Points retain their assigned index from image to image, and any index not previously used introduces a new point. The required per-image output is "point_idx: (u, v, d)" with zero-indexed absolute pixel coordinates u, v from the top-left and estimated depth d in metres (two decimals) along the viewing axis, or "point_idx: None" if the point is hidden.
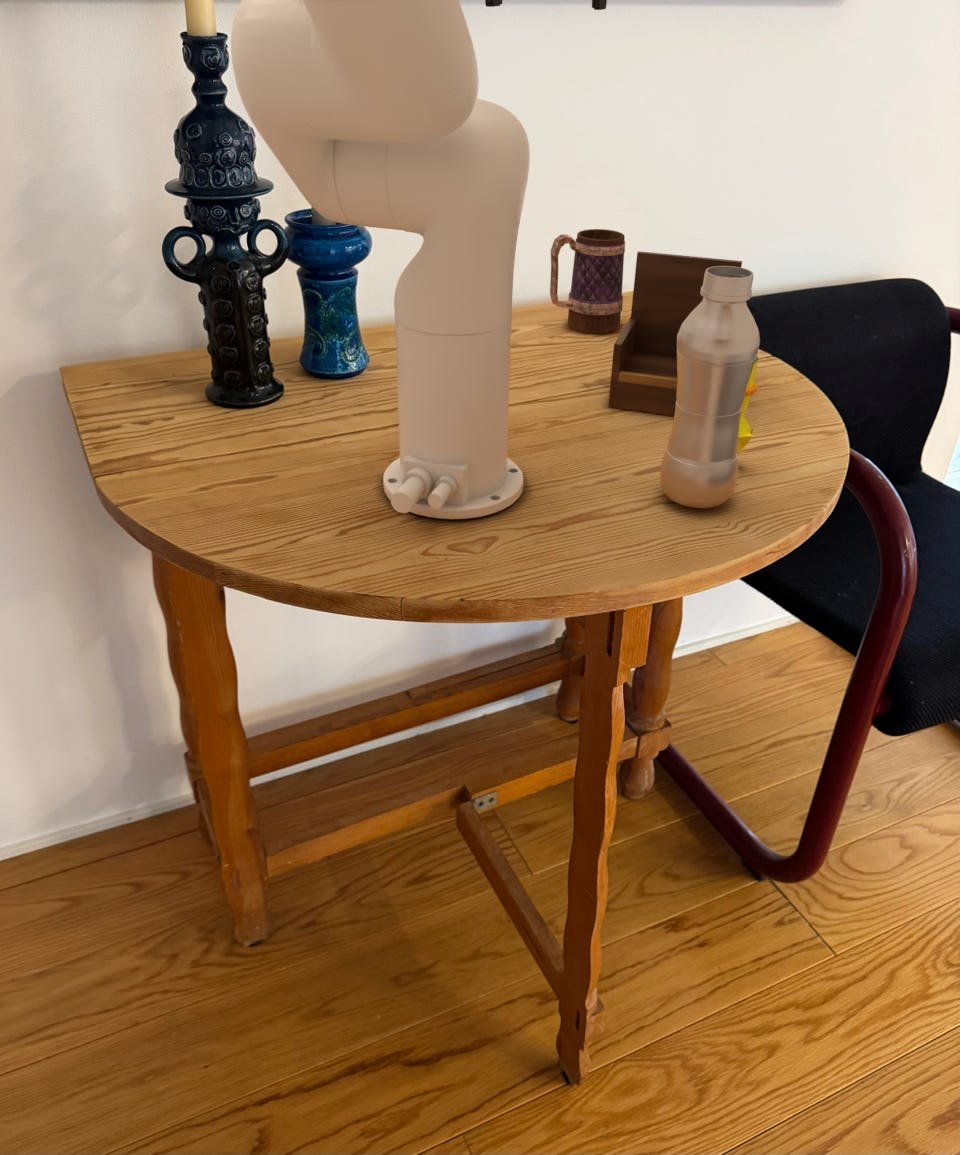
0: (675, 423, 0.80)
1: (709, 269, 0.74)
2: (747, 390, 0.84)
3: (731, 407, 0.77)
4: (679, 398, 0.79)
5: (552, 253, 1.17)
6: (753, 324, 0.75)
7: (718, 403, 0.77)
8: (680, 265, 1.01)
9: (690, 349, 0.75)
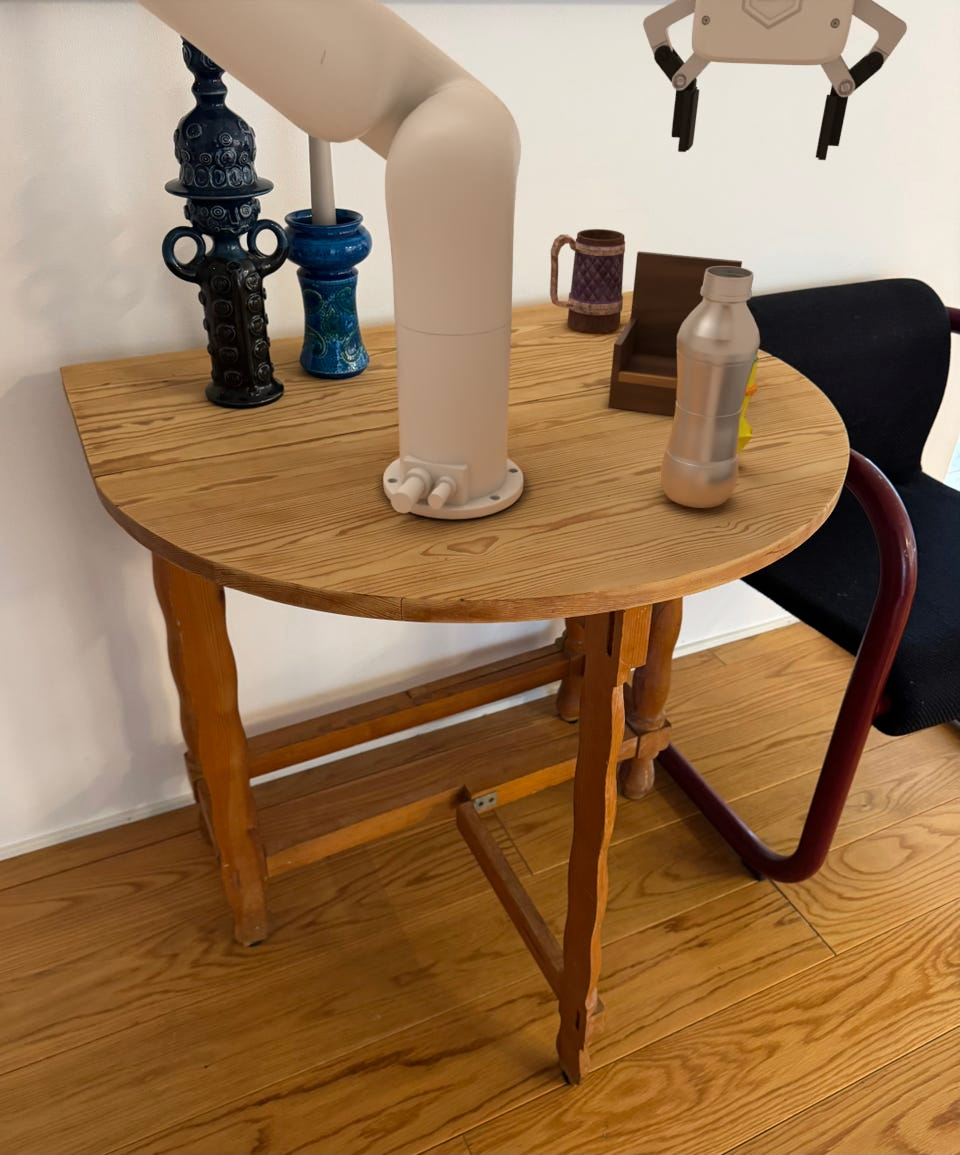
0: (675, 423, 0.80)
1: (709, 269, 0.74)
2: (747, 390, 0.84)
3: (731, 407, 0.77)
4: (679, 398, 0.79)
5: (552, 253, 1.17)
6: (753, 324, 0.75)
7: (718, 403, 0.77)
8: (680, 265, 1.01)
9: (690, 349, 0.75)
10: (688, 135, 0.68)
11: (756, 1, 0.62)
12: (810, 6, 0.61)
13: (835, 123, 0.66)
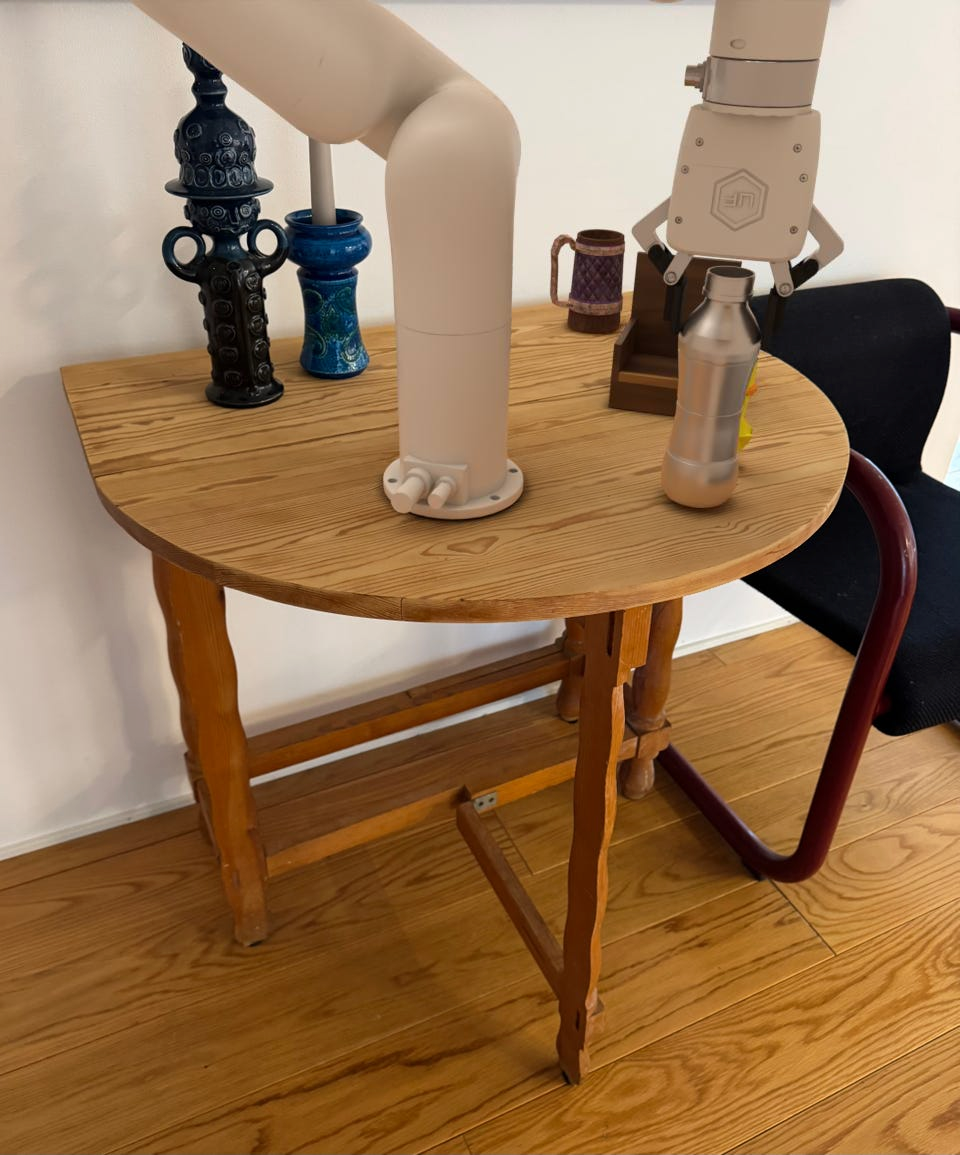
0: (676, 423, 0.80)
1: (711, 269, 0.74)
2: (747, 390, 0.84)
3: (732, 407, 0.77)
4: (680, 398, 0.79)
5: (552, 253, 1.17)
6: (755, 324, 0.75)
7: (719, 403, 0.77)
8: None
9: (692, 349, 0.75)
10: (678, 322, 0.75)
11: (723, 207, 0.69)
12: (771, 215, 0.68)
13: (777, 316, 0.73)
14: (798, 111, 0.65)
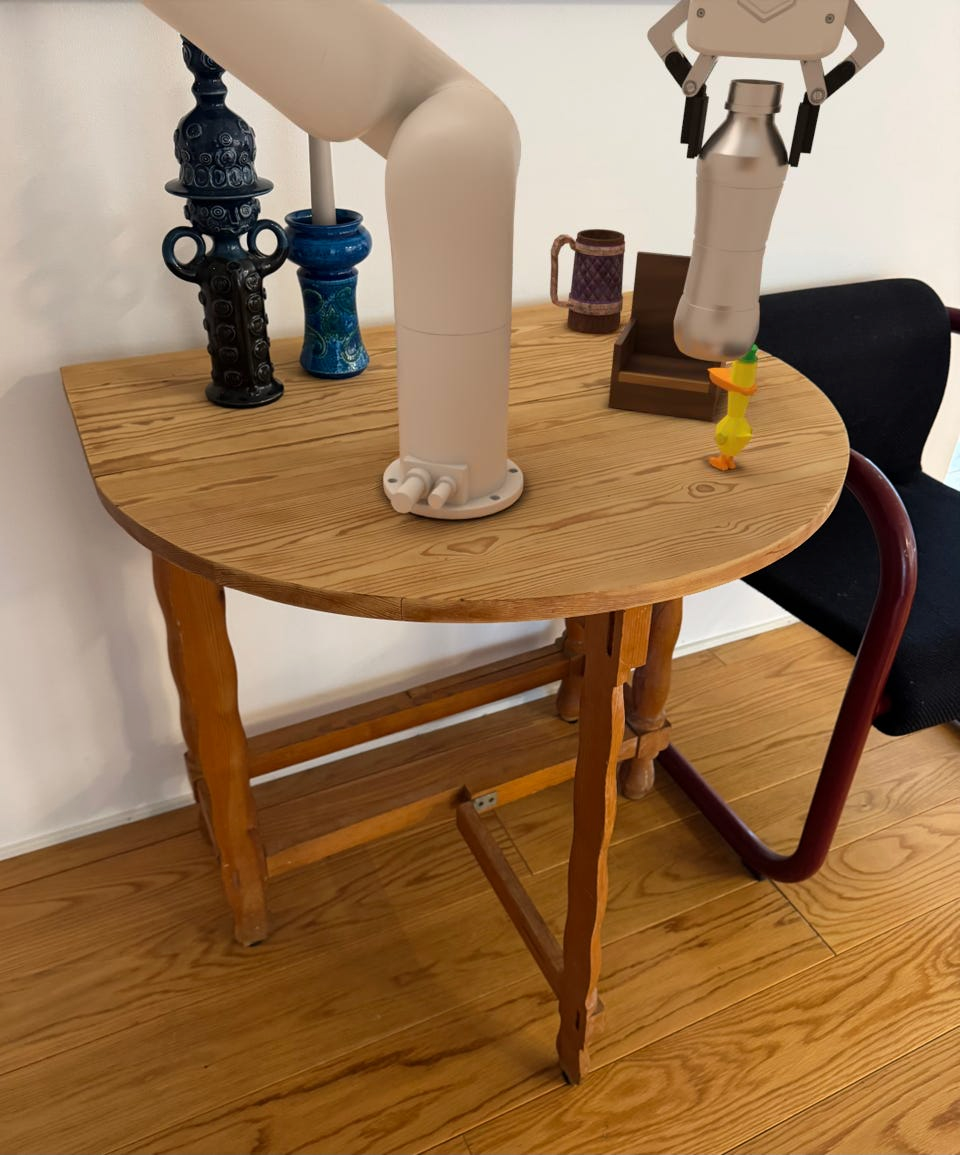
0: (692, 264, 0.73)
1: (734, 81, 0.67)
2: (747, 390, 0.84)
3: (755, 241, 0.70)
4: (697, 233, 0.71)
5: (552, 253, 1.17)
6: (782, 143, 0.67)
7: (741, 235, 0.70)
8: (680, 265, 1.01)
9: (712, 171, 0.68)
10: (697, 142, 0.68)
11: None
12: (805, 1, 0.61)
13: (807, 131, 0.66)
14: None
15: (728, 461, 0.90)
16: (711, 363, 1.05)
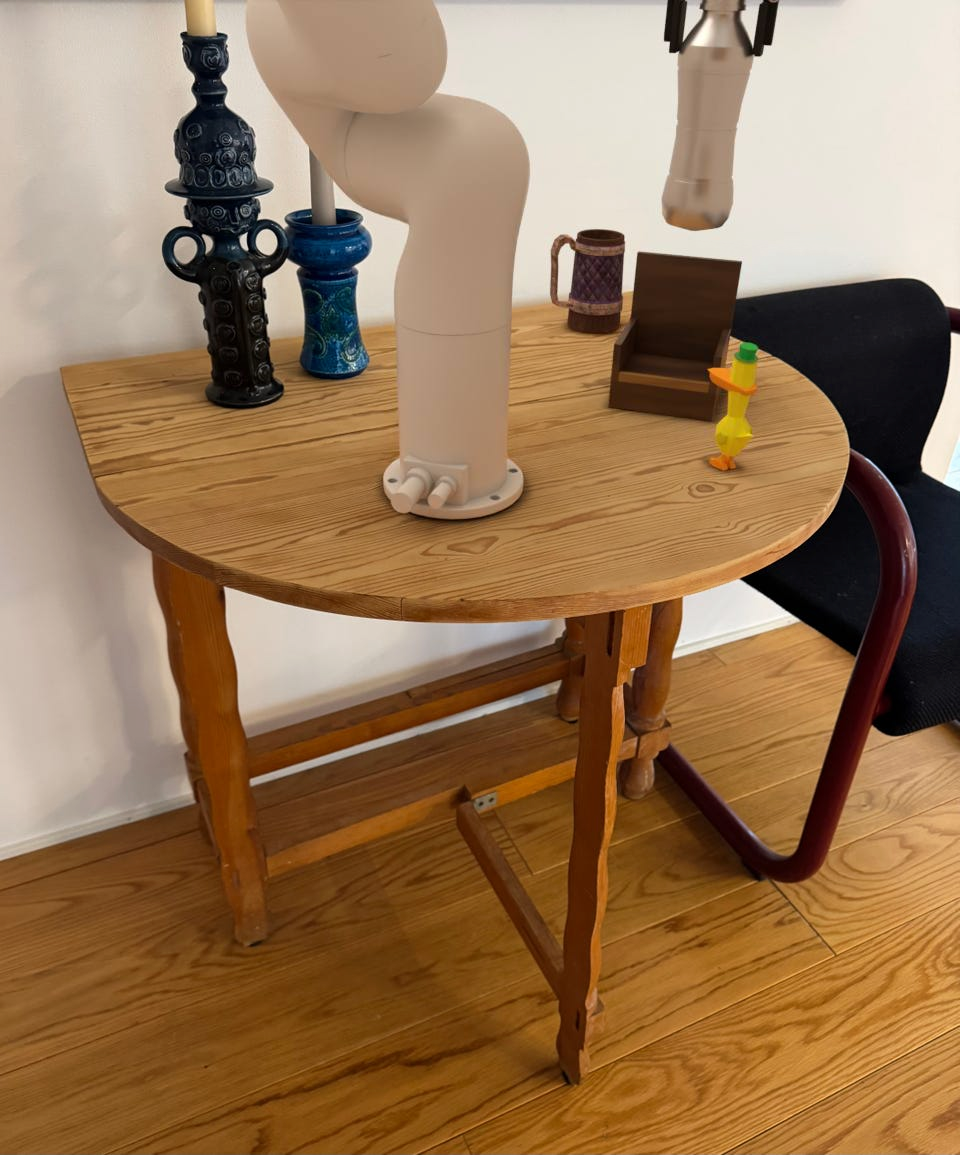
0: (675, 145, 0.87)
1: None
2: (747, 390, 0.84)
3: (727, 121, 0.84)
4: (679, 117, 0.86)
5: (552, 253, 1.17)
6: (747, 37, 0.82)
7: (715, 116, 0.84)
8: (680, 265, 1.01)
9: (690, 61, 0.82)
10: (677, 38, 0.83)
11: None
12: None
13: (768, 25, 0.81)
14: None
15: (728, 461, 0.90)
16: (711, 363, 1.05)
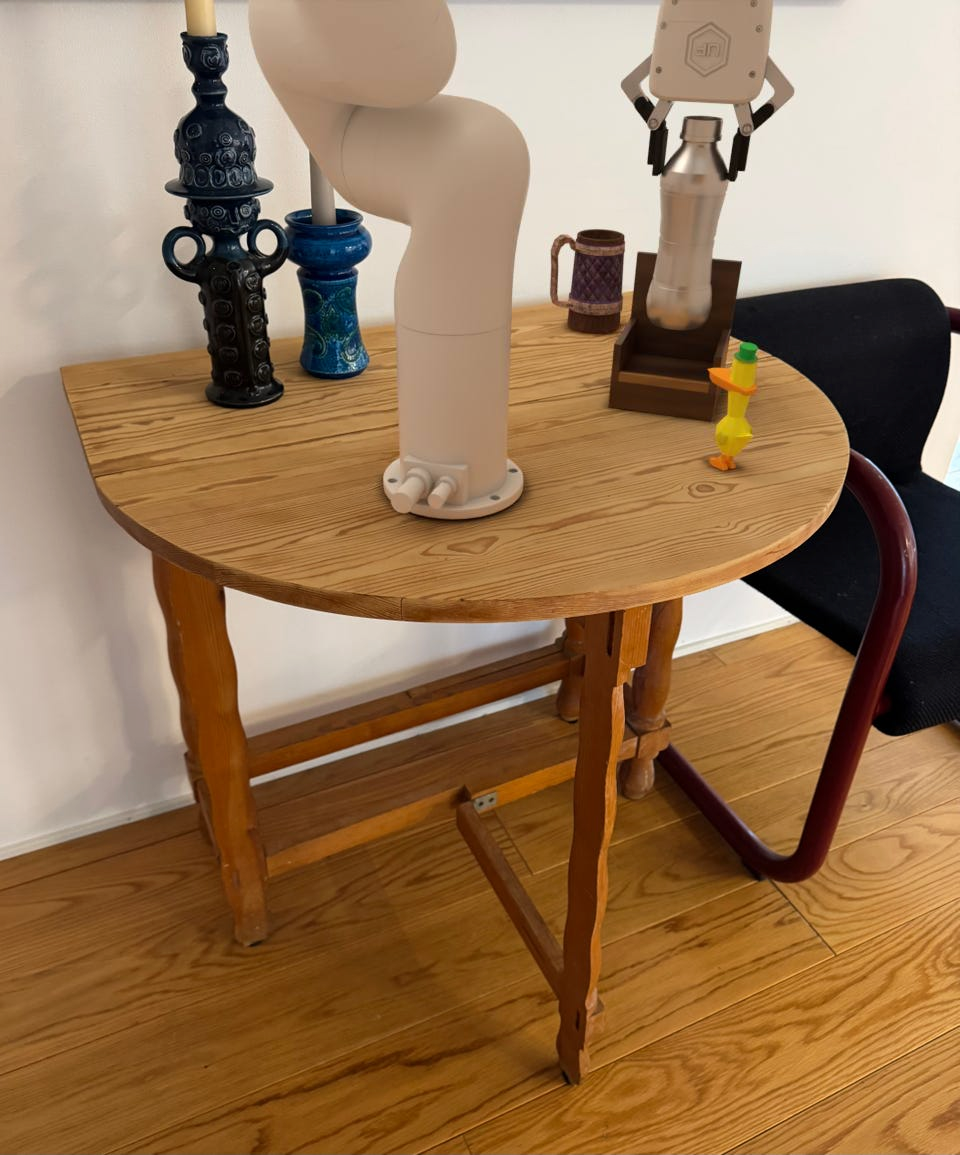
0: (658, 255, 0.95)
1: (687, 117, 0.90)
2: (747, 390, 0.84)
3: (705, 237, 0.93)
4: (662, 232, 0.94)
5: (552, 253, 1.17)
6: (723, 163, 0.90)
7: (694, 233, 0.92)
8: None
9: (671, 185, 0.90)
10: (659, 163, 0.91)
11: (695, 57, 0.84)
12: (734, 61, 0.83)
13: (741, 154, 0.89)
14: None
15: (728, 461, 0.90)
16: (711, 363, 1.05)
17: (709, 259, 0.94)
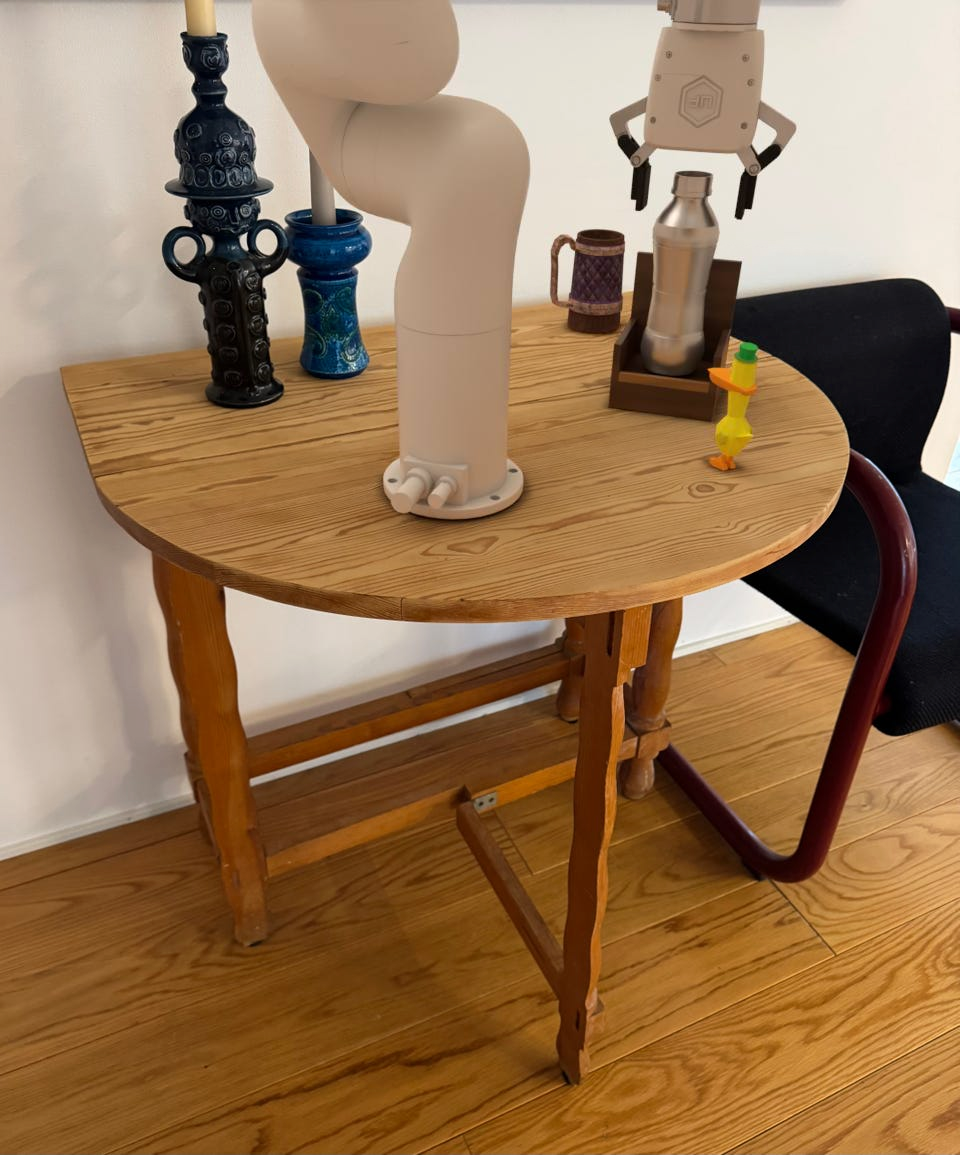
0: (652, 304, 0.98)
1: (678, 172, 0.92)
2: (747, 390, 0.84)
3: (697, 287, 0.95)
4: (655, 281, 0.97)
5: (552, 253, 1.17)
6: (713, 217, 0.93)
7: (686, 283, 0.95)
8: None
9: (663, 238, 0.93)
10: (642, 199, 0.93)
11: (688, 108, 0.86)
12: (726, 113, 0.86)
13: (748, 193, 0.90)
14: (745, 28, 0.82)
15: (728, 461, 0.90)
16: (711, 363, 1.05)
17: (701, 308, 0.97)
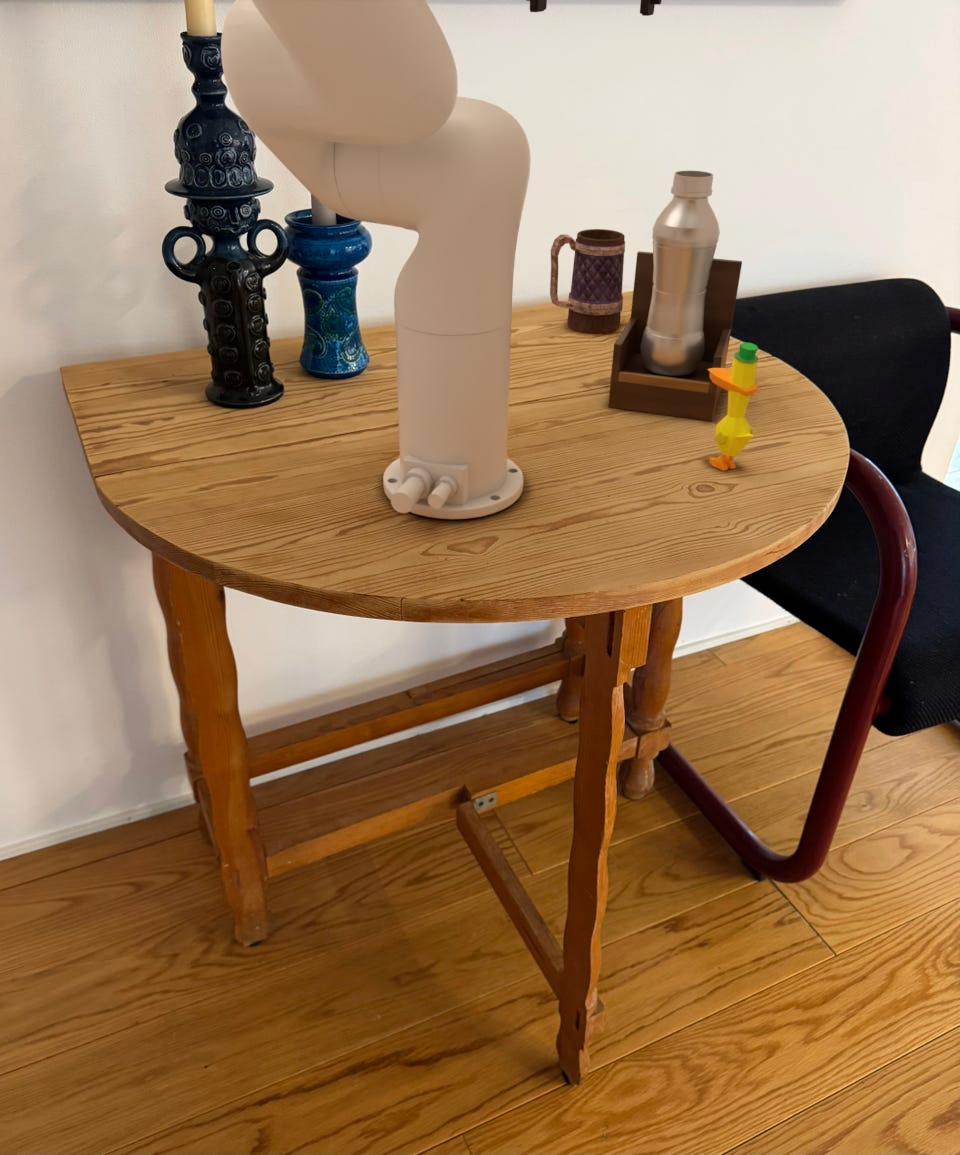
0: (652, 304, 0.98)
1: (678, 172, 0.92)
2: (747, 390, 0.84)
3: (697, 287, 0.95)
4: (655, 281, 0.97)
5: (552, 253, 1.17)
6: (713, 217, 0.93)
7: (686, 283, 0.95)
8: None
9: (663, 238, 0.93)
10: None
11: None
12: None
13: None
14: None
15: (728, 461, 0.90)
16: (711, 363, 1.05)
17: (701, 308, 0.97)
